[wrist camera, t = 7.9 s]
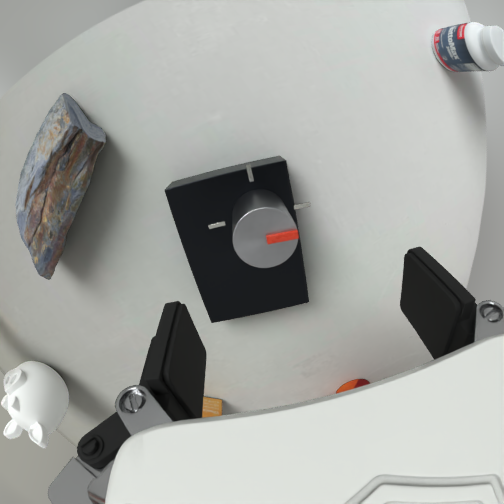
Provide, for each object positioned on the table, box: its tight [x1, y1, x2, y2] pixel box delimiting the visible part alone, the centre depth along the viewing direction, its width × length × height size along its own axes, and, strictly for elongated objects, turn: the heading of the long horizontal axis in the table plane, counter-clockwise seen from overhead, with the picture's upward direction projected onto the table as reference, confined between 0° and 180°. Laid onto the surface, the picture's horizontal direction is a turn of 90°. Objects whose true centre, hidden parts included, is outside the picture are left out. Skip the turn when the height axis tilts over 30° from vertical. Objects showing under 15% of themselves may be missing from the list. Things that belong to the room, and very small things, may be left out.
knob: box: [233, 189, 299, 268], centre depth 21 cm, size 4×4×5 cm
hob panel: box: [165, 156, 310, 323], centre depth 26 cm, size 14×11×3 cm
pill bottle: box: [432, 22, 504, 72], centre depth 15 cm, size 5×5×9 cm
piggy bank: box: [1, 361, 69, 448], centre depth 29 cm, size 12×12×15 cm
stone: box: [16, 93, 106, 280], centre depth 22 cm, size 17×5×10 cm
